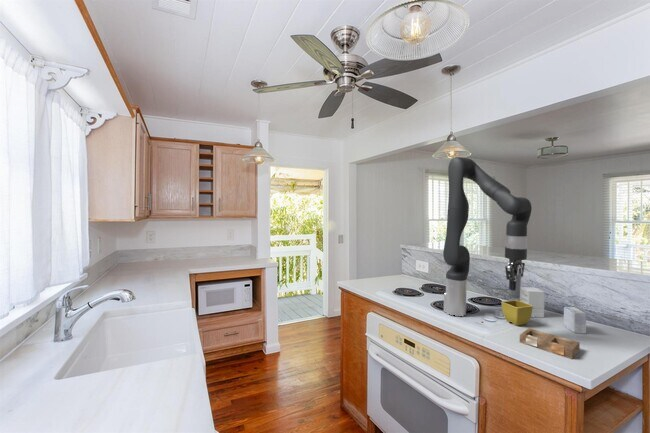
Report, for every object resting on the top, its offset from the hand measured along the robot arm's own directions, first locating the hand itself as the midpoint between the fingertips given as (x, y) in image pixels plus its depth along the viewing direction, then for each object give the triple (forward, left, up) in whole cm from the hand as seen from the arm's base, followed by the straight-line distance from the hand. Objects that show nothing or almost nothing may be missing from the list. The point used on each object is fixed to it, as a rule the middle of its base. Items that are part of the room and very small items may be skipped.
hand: (514, 288), depth 122 cm
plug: (0, 0, -3) cm, 3 cm away
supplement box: (-3, +33, -19) cm, 38 cm away
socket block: (+12, 0, -19) cm, 23 cm away
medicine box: (+14, +27, -19) cm, 36 cm away
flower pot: (-4, +15, -19) cm, 25 cm away
